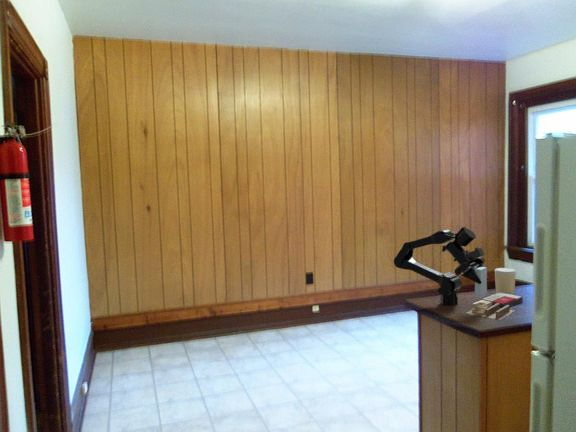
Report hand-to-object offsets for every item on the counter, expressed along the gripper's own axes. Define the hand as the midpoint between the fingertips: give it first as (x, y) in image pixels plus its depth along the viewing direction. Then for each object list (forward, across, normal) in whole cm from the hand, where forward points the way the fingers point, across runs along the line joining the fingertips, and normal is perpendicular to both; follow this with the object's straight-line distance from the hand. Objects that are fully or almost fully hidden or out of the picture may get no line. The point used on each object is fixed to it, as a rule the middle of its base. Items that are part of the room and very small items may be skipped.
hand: (484, 281), depth 192 cm
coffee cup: (+6, +35, +13) cm, 38 cm away
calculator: (+11, +16, +9) cm, 22 cm away
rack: (+11, 0, +8) cm, 14 cm away
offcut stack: (+8, 0, +9) cm, 12 cm away
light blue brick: (+4, 0, +6) cm, 7 cm away
